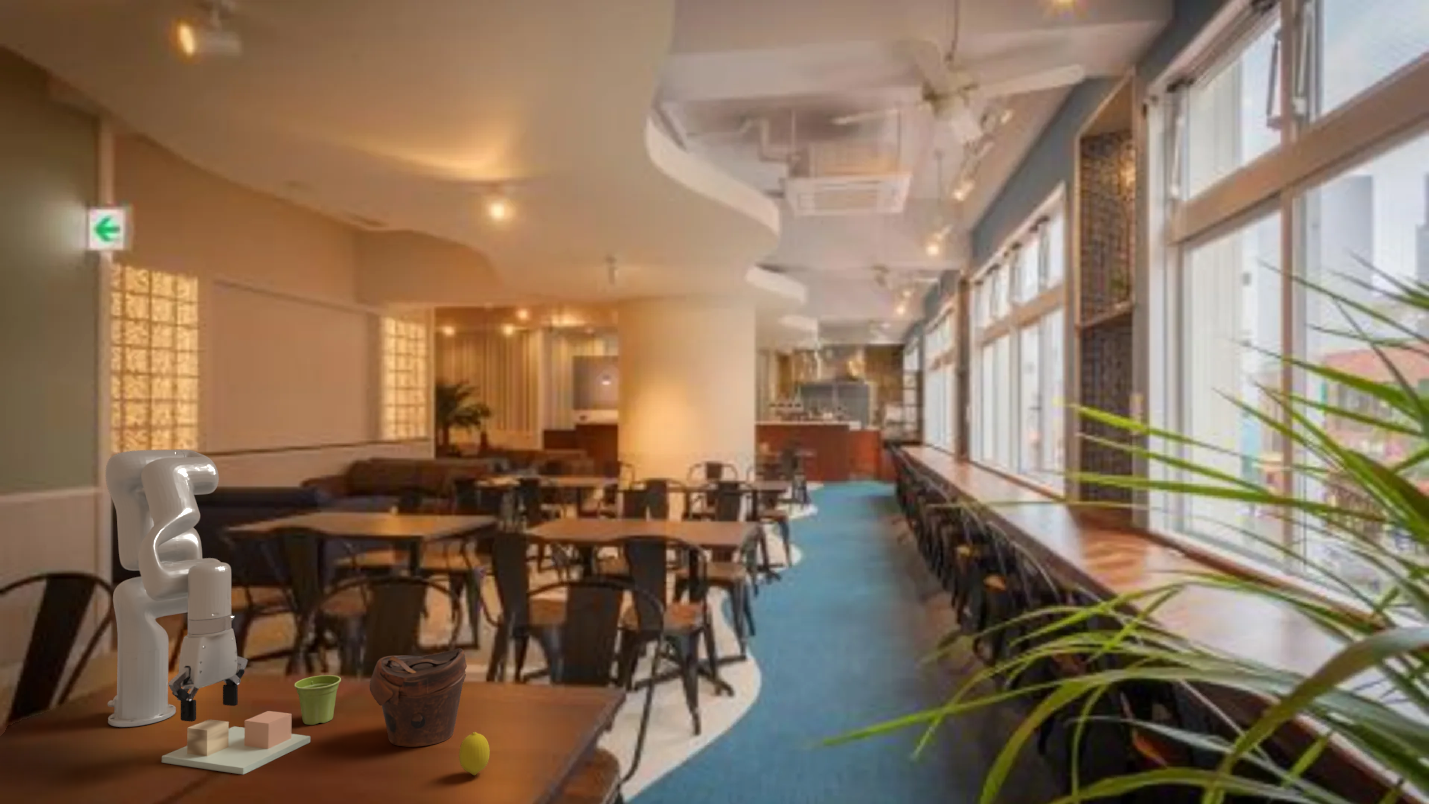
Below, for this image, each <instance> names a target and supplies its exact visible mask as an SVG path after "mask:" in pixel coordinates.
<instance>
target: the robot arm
mask: <svg viewBox="0 0 1429 804" xmlns="http://www.w3.org/2000/svg"><path fill="white" fill-rule="evenodd" d="M105 466H106V467H105V482H106V487H107V490H108V493H109V495H110V497H111V500H112V502H113V505H114V508H115V511H116V521H117V524H116V525H117V540H118V541H117V542H118V543H117V544H118V554H119V555H118V556H119V557H118V558H119V562H120V565H121V567H122V568H123V569H125V570H128V571H139V574H140V576H136V577H132V578H129V579H125V580H123V581H122V582H120V583H119V584H118V585H117V586H116V587H115V589H114V591H113V596H112V602H113V608H114V614H115V620H116V628H117V629H116V631H117V665H116V666H117V671H116V672H117V674H116V676H117V679H116V695H115V696H114V697H113V700H112V699H111V700H109V701H108V702H107V707H109V708H114V709H113V710H114V711H113V713H112V714H110V715H109V716H108V718H107V719H108V720H107V723H108V725H110V726H112V727H117V728H118V727H119V728H128V727H129V728H131V727H140V726H146V725H151V724H155V723H159V722H161V721H164V720H167V719H168V718H169V719H170V718H171V717H172V716H174V715H175V714H176V713H177V711H176V710H177V708H176V706H175V705H173V704H170V703H169V689H170V691H171V694H172V695H173V697H176V699H177V701H180V720H181V721H182V722H195V721H196V720H197V700H196V699H194V698H195V697H196V695H197V693H198V691H199V690H200V689H202V688H204V687H210V686H212V685H215V684H217V683H221V682H224V683H225V684H223V685H222V704H223V706H231V707H235V706H237V705H238V702H239V701H238V700H239V699H238V698H239V695H238V693H239V692H238V691H239V689H238V688H239V687H238V686H239V685H240V684H241V682H242V680H241V679H242V677H243V676H244V674H245V669H246V667H247V665H248V662H249V660H248V659H247V658H245V657H242V656H239V655H238V649H237V643H236V637H235V632H234V628H232V622H233V621H234V619H235V615H233V614H232V567H231V565H230V564H229V563H227V562H221V561H220V560H218V558H213V557H212V558H211V557H208V558H207V557H206V558H203V548H202V541H201V537H200V535H199V533H198V531H197V529H195V528H194V527H195V526H196V525H197V524H199V522H200V520H201V513H200V510H199V507H198V504H197V500H196V497H195V496H196V495H199V496H200V495H208V494H212V493H214V492H215V490H216V489H217V487H218V485H219V481H220V475H219V471H218V467H217V466H216V463H215V462H214V461H213V460H212V459H211V458H210V457H208V456H207V455H204V454H203V453H199V452H197V451H195V450H191V449H143V450H129V451H122V452H118V453H116V454H114V455H112V456H111V457H110V458H109V459H108V461H107V463H106V465H105ZM185 613H187V635H185V636H184V637H183V640H182V644H181V649H180V655H179V664H178V673H177V674H176V675H175V676H174V677H173V678H171V679H170V680H169V635H168V633H167V631H166V629H165V628H164V627H162V625H160V624H159V623H158V622H157V619H158V618H162V617H166V616H172V615H178V614H179V615H180V614H185Z"/></svg>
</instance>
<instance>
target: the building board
mask: <svg viewBox="0 0 1429 804" xmlns="http://www.w3.org/2000/svg"><path fill="white" fill-rule="evenodd" d="M244 738H245V727H241V726H240V727H239V726H235V725H233V726H231V727H229V738H228V747H227V748H225V749H223V750H220V751H218V752H216V753H213V754H211V755H209V756H201V755H194V754H187V745H186V746H184V747H181V748H178V749H176V750H173V751H172V752H169V753H166V754H164V755H162V756H161V763H164V764H169V765H170V764H171V765H176V766H183V767H190V768H198V769H204V770H209V771H218V772H224V773H228V774H231V773H232V774H238V775H245V774H247V773H249V772H252V771H254V770H256V769H258V768H260V767H262V766H264V765H266V764H269V763H270V762H272V761H274V760H276V759H279V758H281V757H282V756H284V755H287V754H288V753H289V754H290V752H293V751H295V750H297V749H299V748H301V747H303V746H305V745H308V744H309V743H311V736H310V735H304V734H297V733H291V739H288V740H286V741H284V742H282V743H280V744H278V745H275V746H273V747H271V748H269V749H266V748H259V747H251V746H244Z"/></svg>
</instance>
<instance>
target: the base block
mask: <svg viewBox="0 0 1429 804" xmlns="http://www.w3.org/2000/svg"><path fill="white" fill-rule="evenodd" d="M292 716H293V715H292V713H287V712H282V711H271V710H267V711H265V712H261V713H259V714H257V715H255V716H252V717H250V718H247V719H245V720H244V728H245V738H244V746H251V747H259V748H266V749H269V748H271V747H273V746H275V745H278V744H280V743H282V742H284V741H286V740H288V739H291V734H292Z"/></svg>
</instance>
